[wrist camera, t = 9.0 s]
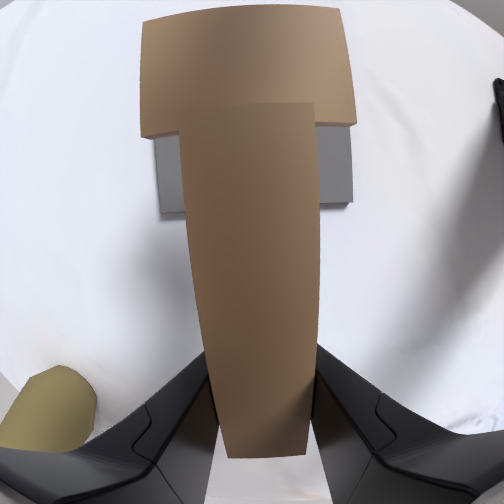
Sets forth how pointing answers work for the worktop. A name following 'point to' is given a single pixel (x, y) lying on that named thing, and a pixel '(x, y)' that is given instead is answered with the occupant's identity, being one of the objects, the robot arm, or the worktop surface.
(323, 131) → the mat
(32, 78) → the worktop surface
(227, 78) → the turner
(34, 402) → the squeeze bottle
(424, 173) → the worktop surface
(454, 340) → the worktop surface
